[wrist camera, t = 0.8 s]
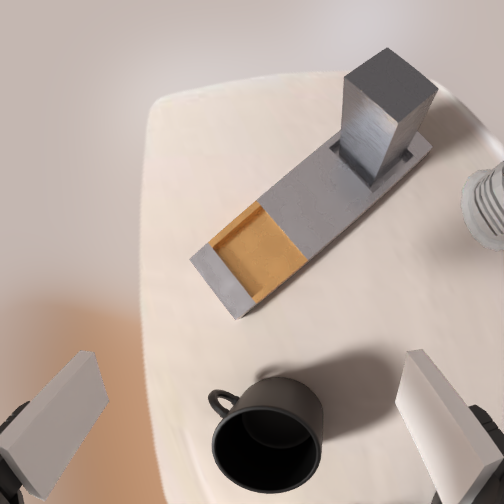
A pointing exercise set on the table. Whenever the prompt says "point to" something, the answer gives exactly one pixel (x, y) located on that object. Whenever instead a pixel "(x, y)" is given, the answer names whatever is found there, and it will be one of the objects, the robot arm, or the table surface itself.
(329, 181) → the rail
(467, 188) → the french press
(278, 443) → the mug
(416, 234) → the table surface
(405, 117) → the graphite post
